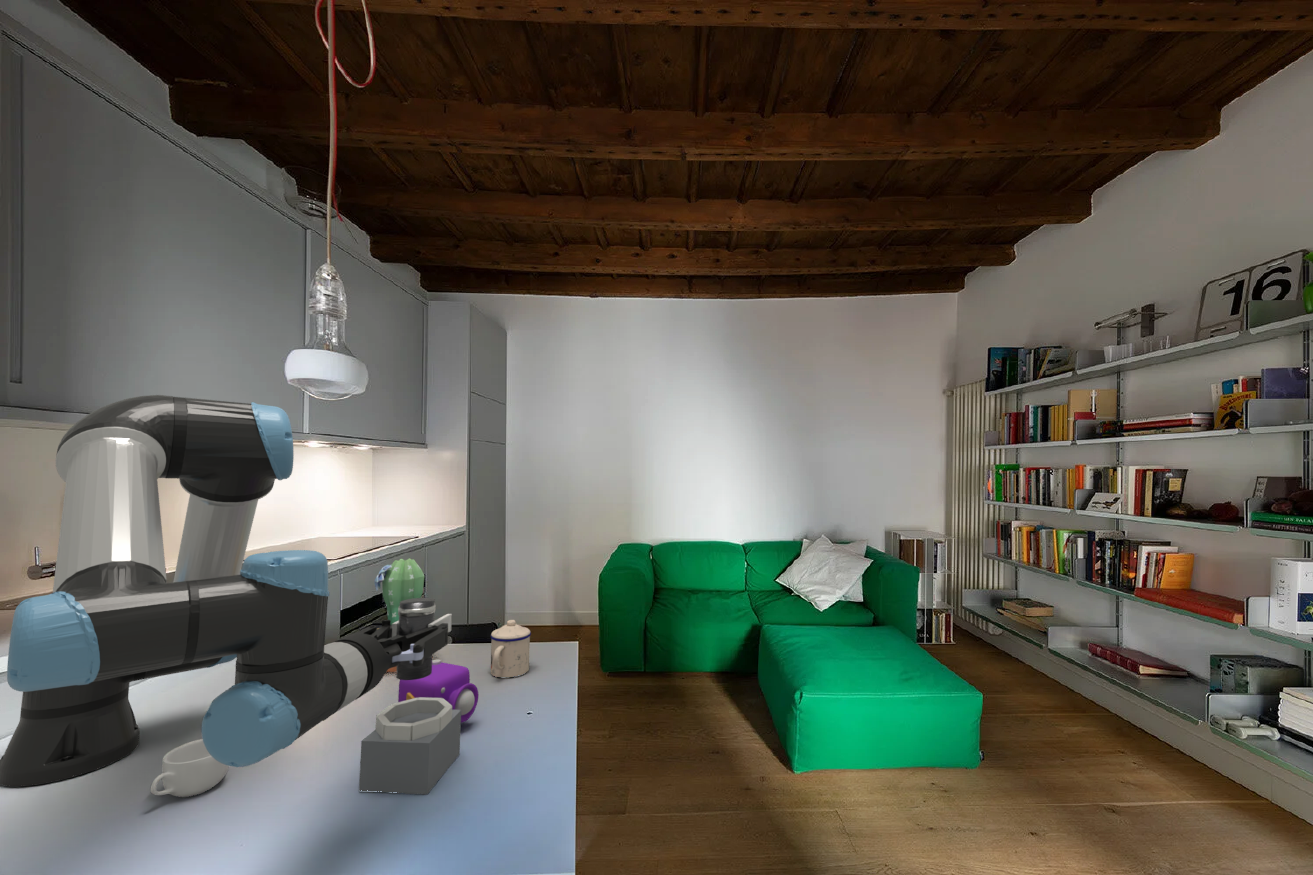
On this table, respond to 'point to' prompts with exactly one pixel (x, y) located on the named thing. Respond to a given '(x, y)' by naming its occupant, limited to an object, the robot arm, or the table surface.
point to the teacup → (189, 771)
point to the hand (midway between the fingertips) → (432, 621)
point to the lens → (411, 620)
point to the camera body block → (410, 746)
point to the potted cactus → (399, 586)
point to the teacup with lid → (510, 650)
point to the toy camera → (444, 687)
